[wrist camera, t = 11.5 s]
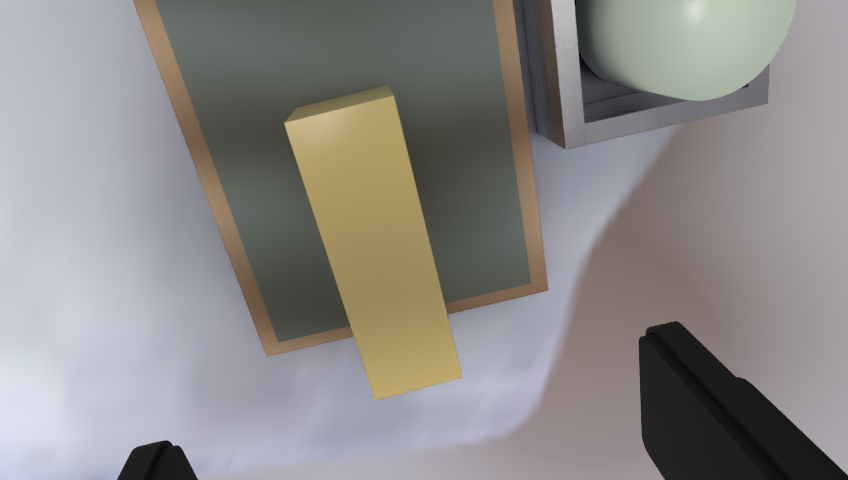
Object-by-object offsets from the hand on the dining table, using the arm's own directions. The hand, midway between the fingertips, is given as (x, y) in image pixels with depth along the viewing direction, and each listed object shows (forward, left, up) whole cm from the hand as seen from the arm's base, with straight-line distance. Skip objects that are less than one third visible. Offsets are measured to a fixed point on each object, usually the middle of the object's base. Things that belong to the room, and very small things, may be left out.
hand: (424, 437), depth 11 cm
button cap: (-6, +10, -10) cm, 15 cm away
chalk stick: (+4, 0, -9) cm, 10 cm away
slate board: (-4, 0, -11) cm, 12 cm away
